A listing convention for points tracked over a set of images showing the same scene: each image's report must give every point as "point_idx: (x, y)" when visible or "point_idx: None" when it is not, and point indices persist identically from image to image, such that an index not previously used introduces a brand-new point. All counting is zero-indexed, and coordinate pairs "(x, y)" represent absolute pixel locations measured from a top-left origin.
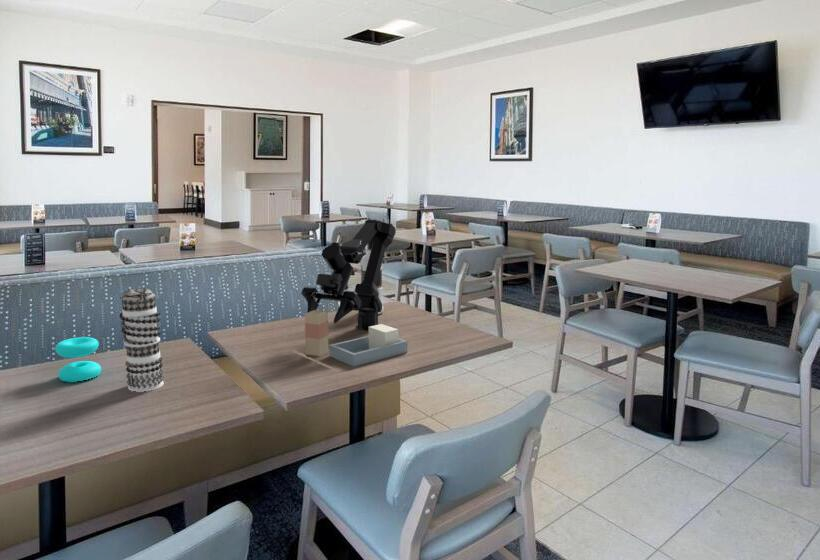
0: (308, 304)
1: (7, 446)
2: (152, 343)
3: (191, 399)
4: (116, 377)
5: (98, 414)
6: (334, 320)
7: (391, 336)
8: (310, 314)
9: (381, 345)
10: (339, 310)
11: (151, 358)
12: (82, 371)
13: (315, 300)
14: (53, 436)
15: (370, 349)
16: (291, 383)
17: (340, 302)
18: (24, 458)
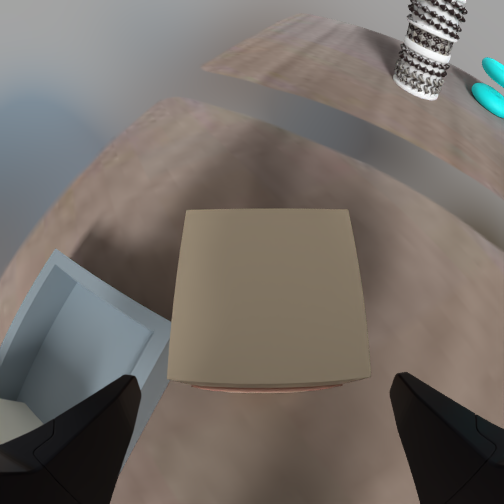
0: (496, 431)
1: (354, 25)
2: (408, 19)
3: (318, 66)
4: (469, 105)
5: (364, 45)
6: (124, 376)
7: None
8: (286, 210)
9: (16, 414)
10: (57, 425)
11: (405, 39)
12: (476, 84)
13: None
14: (345, 29)
15: (18, 322)
16: (201, 133)
17: (7, 469)
18: (324, 19)
